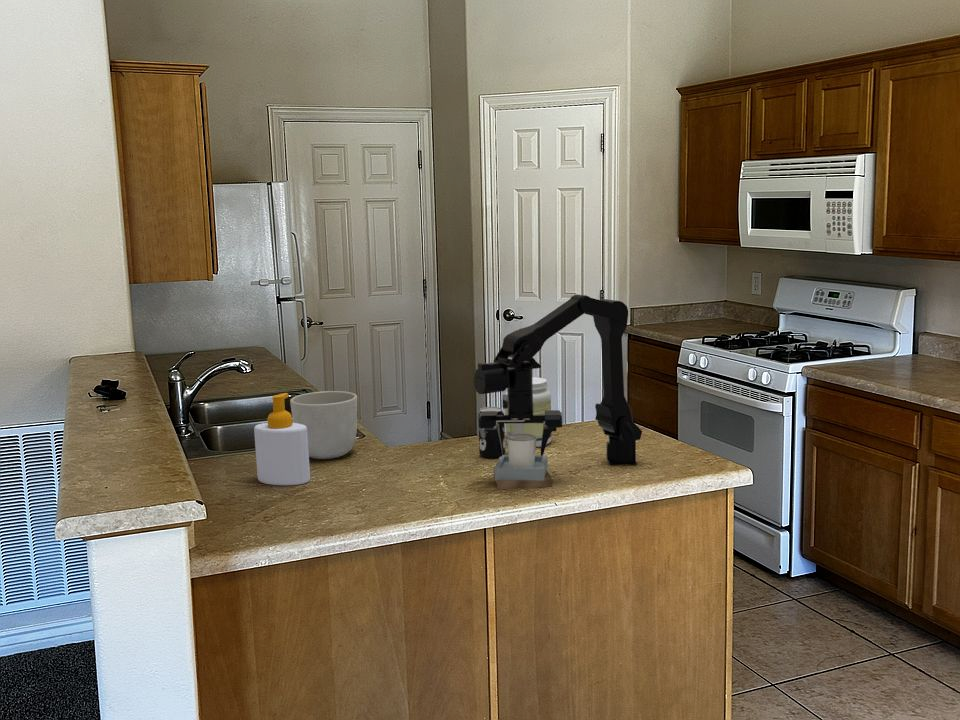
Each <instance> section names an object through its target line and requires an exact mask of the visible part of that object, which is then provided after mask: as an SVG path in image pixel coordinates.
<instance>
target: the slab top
mask: <svg viewBox="0 0 960 720" xmlns="http://www.w3.org/2000/svg"><path fill="white" fill-rule="evenodd" d="M548 462H549V461H548V455H547V454H546V455H544V454H543V456H541V454H540V455H539V454H538V455H537V454H535V462H534V467H510V464H509V455H508V454H504V455H502V457H499V458H498V461H497V462H496V465H495V466H494V467H495V476H494V480H495V481H496V480H537V481H544V479H545V475H546V471H548V466H549V464H548Z"/></svg>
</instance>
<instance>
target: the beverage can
mask: <svg viewBox="0 0 960 720" xmlns="http://www.w3.org/2000/svg"><path fill="white" fill-rule="evenodd" d="M482 411H497V415H505V412H503V411H504V409H503V407H498V406H486V407H482V408H480V409H479V413H478V417H477V419H478V426H479V416H480V414H481V413H482ZM499 430H500V437H501V444H502V455H506V454H505V453H506V424H505V423H502V424H499ZM478 453H479V455H480V456H481V457H482V458H483V459H484V458H485V459H499V458H500V454H499V452H498V449H497V446H496V444H495V442H494V440H493V438H492V436H491V434H490V433H489V432H485V428H479V427H478Z"/></svg>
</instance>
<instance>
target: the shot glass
mask: <svg viewBox="0 0 960 720" xmlns="http://www.w3.org/2000/svg"><path fill="white" fill-rule="evenodd" d="M536 438H537V437H536V436H534V435H530V434H514V435H510V436H508V437H507V441H506V443H507V453H508V454H507V455H509V464H510V467H534V462H535V455H536V451H537V450H536V448H537V447H536Z"/></svg>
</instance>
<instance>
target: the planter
mask: <svg viewBox="0 0 960 720" xmlns="http://www.w3.org/2000/svg"><path fill="white" fill-rule="evenodd" d="M289 401H290V409H291V416H292V423H298V424H303V425H305V426H306V427H307V436H308V451H309V459H310V458H311V459H316V460H331V459H336V458H341V457H343V456H345V455H346V454H348V453H349V452H350V451H351V450H352V449H353V448H354V445H355V442H356V439H357V433H358V432H357V424H358V395H357V394H356V393H355V392H349V391H341V390H337V391H336V390H327V391H326V390H325V391H324V390H323V391H315V392H308V393H302V394H299V395H296V396H295V395H294V397H291V398H290V400H289Z"/></svg>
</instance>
